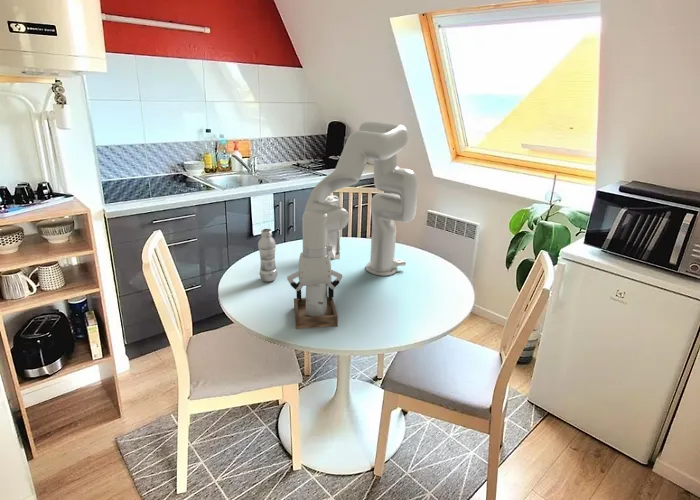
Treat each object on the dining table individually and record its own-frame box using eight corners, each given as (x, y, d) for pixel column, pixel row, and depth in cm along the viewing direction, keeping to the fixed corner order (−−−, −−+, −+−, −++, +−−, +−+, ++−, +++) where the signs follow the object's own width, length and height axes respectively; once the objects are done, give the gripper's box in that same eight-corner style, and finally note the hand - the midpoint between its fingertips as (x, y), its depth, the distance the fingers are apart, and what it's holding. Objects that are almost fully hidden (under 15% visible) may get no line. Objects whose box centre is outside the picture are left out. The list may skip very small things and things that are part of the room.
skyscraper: (339, 261, 185) (341, 196, 174) (320, 260, 185) (320, 196, 174) (340, 253, 192) (341, 191, 182) (321, 252, 192) (322, 190, 182)
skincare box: (305, 315, 142) (304, 281, 137) (310, 308, 146) (310, 275, 141) (322, 318, 140) (323, 285, 135) (327, 311, 144) (328, 278, 139)
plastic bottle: (280, 277, 168) (278, 228, 160) (271, 285, 162) (269, 234, 154) (265, 274, 170) (263, 226, 162) (256, 282, 164) (253, 232, 156)
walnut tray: (332, 305, 150) (332, 296, 149) (337, 326, 138) (337, 316, 137) (294, 307, 148) (293, 298, 147) (296, 328, 136) (295, 319, 135)
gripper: (341, 244, 139) (340, 292, 146) (286, 246, 136) (287, 295, 143) (344, 254, 132) (343, 303, 139) (286, 256, 129) (288, 307, 136)
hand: (315, 299), depth 141 cm, fingers open, 9 cm apart
